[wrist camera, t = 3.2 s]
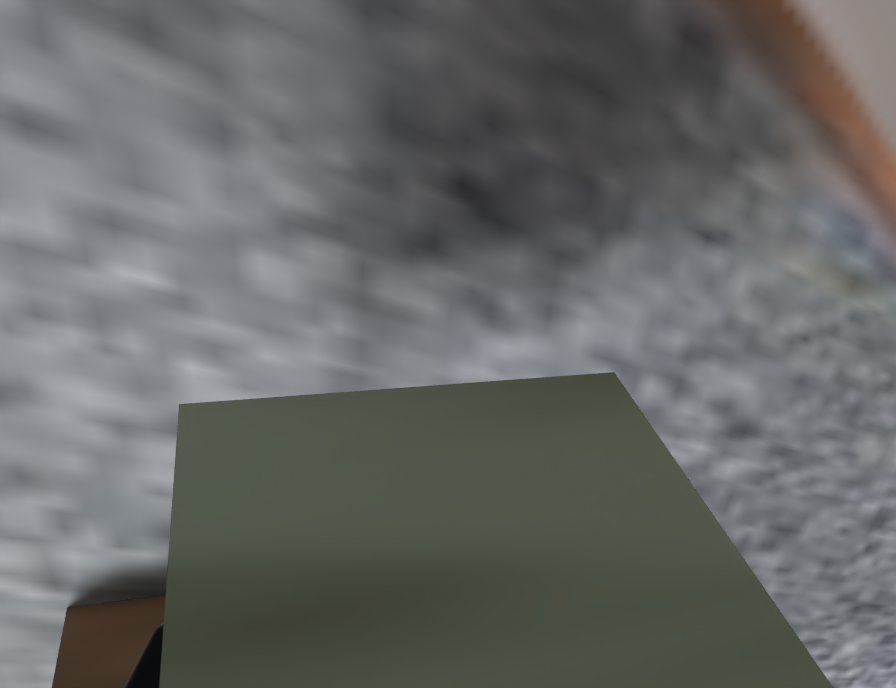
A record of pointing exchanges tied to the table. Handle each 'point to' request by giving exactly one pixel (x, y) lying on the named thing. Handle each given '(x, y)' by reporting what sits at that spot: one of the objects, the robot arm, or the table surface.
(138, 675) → the robot arm
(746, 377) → the table surface
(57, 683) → the walnut base slab
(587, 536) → the sage block
